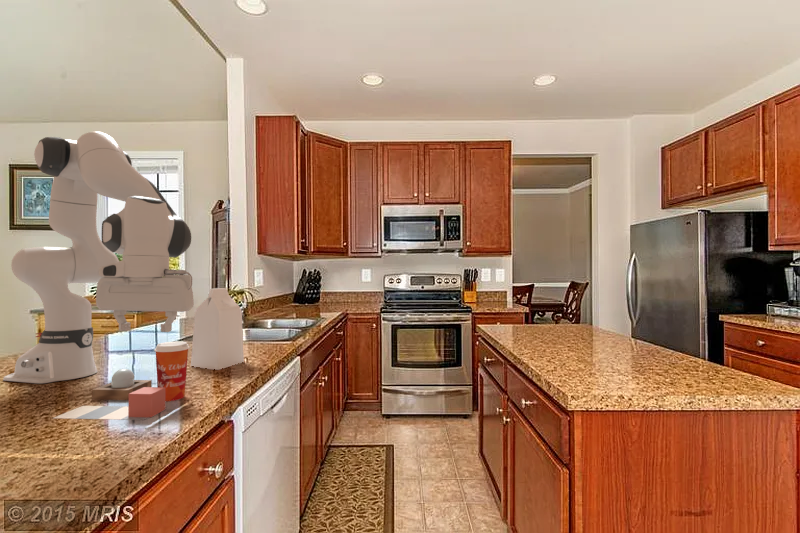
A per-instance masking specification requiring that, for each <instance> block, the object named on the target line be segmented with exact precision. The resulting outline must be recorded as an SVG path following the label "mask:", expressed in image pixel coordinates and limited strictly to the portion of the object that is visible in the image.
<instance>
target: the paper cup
mask: <svg viewBox="0 0 800 533" xmlns="http://www.w3.org/2000/svg"><path fill="white" fill-rule="evenodd" d="M189 349H191V347H190V346H189V343H188V342H186V341H180V340H179V341H165V342H160V343H158V344H157V345H156V347H155V348H154V350H153V351H154V352H155V366H156V381H157V383H156V384H157V387H165V402H174V401H178V400H181V399H184V398H185V395H186V394H185V393H186V385H187V384H186V383H187V382H186V381H187V371H188V370H187V369H188V354H189Z"/></svg>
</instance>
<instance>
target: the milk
mask: <svg viewBox="0 0 800 533" xmlns="http://www.w3.org/2000/svg"><path fill="white" fill-rule="evenodd" d="M193 317H194V318H193V332H192V344H191V345H192V346H191V358H190V367H191V366H194V367H193V368H196V367H200V368H199V369H205V368H207V369H206V370H214V369H215V371H219V370H222V368H223V369H225V368H228V367H232V365H233V366H235V364H236V365H239V364H242V362H243V363H244V362H245V359H244V358H245V356H244V355H245V354H244V338H243V337H244V333H243V332H244V331H243V312H242V308H241V306H239V304H238V303H237V302H235V300H234V299H233V298H232V297H231V296H230V295H229V291H228V289H227V287H224V288H223V287H222V288H220V287H219V288H218V287H216V288H210V290H209V294H208V297H206V299H205V300H204V301H203V302H201V303H200V305H199V306H198V307H197V308H196V309H195V311H194V316H193ZM238 363H239V364H238Z"/></svg>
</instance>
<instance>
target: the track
mask: <svg viewBox="0 0 800 533" xmlns="http://www.w3.org/2000/svg"><path fill="white" fill-rule="evenodd" d="M165 409H167V406H165ZM53 419H65V420H66V419H68V420H71V419H72V420H73V419H74V420H114V421H115V420H121V421H123V420H126V421H145V420H147V419H149V417H128V406H127V405H125V406H122V405H121V406H120V405H119V406H118V405H113V406H111V405H81V406H78V407H76V408H74V409H70V410H68V411H66V412H63V413H62V414H59V415H56V416H55V417H53Z"/></svg>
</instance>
